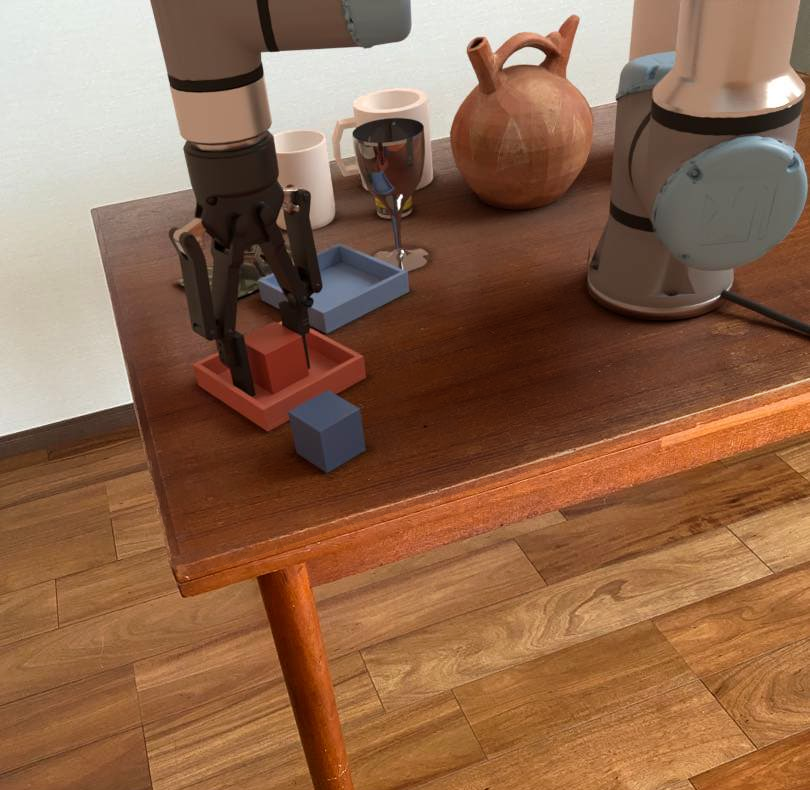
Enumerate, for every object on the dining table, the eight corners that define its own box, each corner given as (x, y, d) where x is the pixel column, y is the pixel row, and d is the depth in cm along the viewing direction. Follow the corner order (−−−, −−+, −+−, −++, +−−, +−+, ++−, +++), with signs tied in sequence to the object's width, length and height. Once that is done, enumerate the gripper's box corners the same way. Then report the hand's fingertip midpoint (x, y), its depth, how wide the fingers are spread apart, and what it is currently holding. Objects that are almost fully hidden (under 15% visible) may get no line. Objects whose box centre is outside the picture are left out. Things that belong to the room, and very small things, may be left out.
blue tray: (409, 291, 101) (407, 271, 99) (326, 334, 95) (323, 313, 94) (342, 262, 108) (339, 242, 106) (261, 300, 103) (257, 280, 101)
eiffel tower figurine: (273, 241, 114) (252, 133, 105) (322, 262, 108) (305, 150, 99) (175, 284, 107) (144, 173, 98) (222, 309, 102) (193, 194, 93)
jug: (551, 157, 128) (556, -2, 114) (616, 199, 115) (630, 26, 101) (433, 184, 124) (423, 23, 110) (486, 231, 111) (483, 55, 97)
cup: (304, 237, 114) (291, 157, 107) (244, 218, 121) (228, 141, 114) (349, 214, 118) (338, 136, 112) (288, 197, 125) (275, 121, 118)
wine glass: (442, 248, 108) (435, 120, 98) (416, 278, 103) (405, 145, 93) (384, 241, 111) (371, 116, 101) (355, 269, 106) (339, 140, 96)
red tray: (366, 377, 88) (363, 355, 87) (267, 432, 83) (262, 410, 81) (293, 337, 95) (289, 316, 94) (198, 385, 90) (192, 364, 88)
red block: (309, 375, 89) (302, 335, 86) (273, 394, 87) (264, 354, 83) (282, 360, 91) (274, 321, 88) (247, 378, 89) (237, 339, 86)
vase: (739, 176, 117) (789, -119, 95) (629, 185, 118) (655, -105, 96) (713, 139, 127) (753, -134, 106) (612, 147, 128) (632, -122, 107)
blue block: (365, 450, 79) (360, 408, 76) (327, 473, 77) (319, 431, 74) (334, 430, 82) (327, 389, 79) (296, 452, 80) (287, 411, 77)
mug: (346, 203, 121) (336, 122, 114) (333, 177, 129) (322, 99, 122) (441, 186, 123) (436, 104, 116) (422, 161, 130) (417, 83, 123)
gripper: (292, 98, 79) (323, 330, 95) (101, 157, 70) (170, 402, 86) (345, 114, 75) (369, 354, 91) (149, 179, 66) (212, 433, 82)
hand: (272, 377), depth 88 cm, fingers open, 6 cm apart
